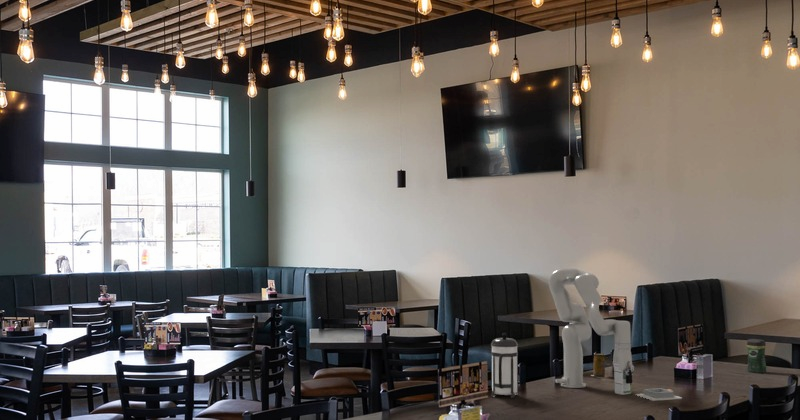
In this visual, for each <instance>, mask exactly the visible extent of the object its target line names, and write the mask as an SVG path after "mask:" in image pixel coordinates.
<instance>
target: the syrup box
mask: <svg viewBox="0 0 800 420" xmlns="http://www.w3.org/2000/svg"><path fill="white" fill-rule="evenodd" d="M613 371H614V372H613V373H614V393H615V394H616V395H617V394H618V395H624V396H625V395H631V394H632V392H633V391H632V383H629V384H627V383H626V375H627V374H626V372H625V370H624V371H622V370H619V366H618V364H614V368H613ZM628 372H629V371H628Z"/></svg>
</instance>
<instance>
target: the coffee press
mask: <svg viewBox="0 0 800 420" xmlns="http://www.w3.org/2000/svg"><path fill="white" fill-rule="evenodd" d="M501 336H502V337H498V338H497V337H496V338H495V339H493V340H492V341H491V343H490V346H491V353H490V354H491V390H492V391H491V394H490V396H491V397H492V398H496V396H497V395H500V396H503V395H504V396H509V397H510V399H515V398H516V396H518V395H519V392H518V355H519V354H518V353H519V352H518V346H519V344H518V342H517V341H516V339H514V338H511V337H510V338H509V337H507V333H506V332H503V333H502V334H501ZM515 395H516V396H515Z"/></svg>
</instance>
